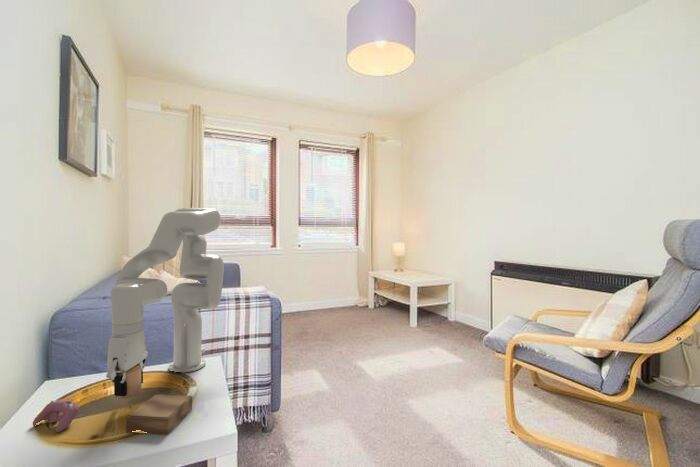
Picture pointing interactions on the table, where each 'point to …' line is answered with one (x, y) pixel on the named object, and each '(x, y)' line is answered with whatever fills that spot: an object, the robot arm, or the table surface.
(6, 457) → the table surface
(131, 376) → the canister
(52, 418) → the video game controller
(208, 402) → the table surface
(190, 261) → the robot arm
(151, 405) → the walnut block
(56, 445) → the table surface
